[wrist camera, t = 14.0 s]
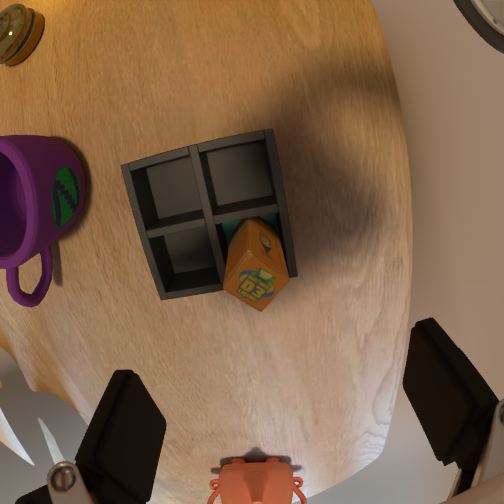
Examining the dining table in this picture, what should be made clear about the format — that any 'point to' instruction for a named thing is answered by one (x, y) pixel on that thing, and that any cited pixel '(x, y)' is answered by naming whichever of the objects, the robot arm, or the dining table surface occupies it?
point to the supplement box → (255, 263)
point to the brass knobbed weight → (18, 33)
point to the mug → (35, 205)
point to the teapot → (256, 483)
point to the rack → (205, 208)
